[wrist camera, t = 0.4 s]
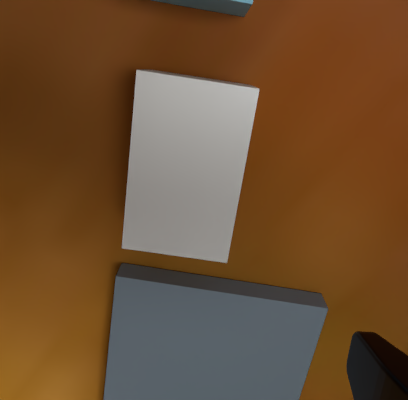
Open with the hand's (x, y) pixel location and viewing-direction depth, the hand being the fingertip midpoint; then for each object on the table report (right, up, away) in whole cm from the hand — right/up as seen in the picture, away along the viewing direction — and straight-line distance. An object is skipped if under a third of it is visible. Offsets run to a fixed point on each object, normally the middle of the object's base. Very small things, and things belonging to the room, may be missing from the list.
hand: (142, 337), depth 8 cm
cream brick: (+1, +5, +12) cm, 13 cm away
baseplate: (+1, -7, +16) cm, 18 cm away
